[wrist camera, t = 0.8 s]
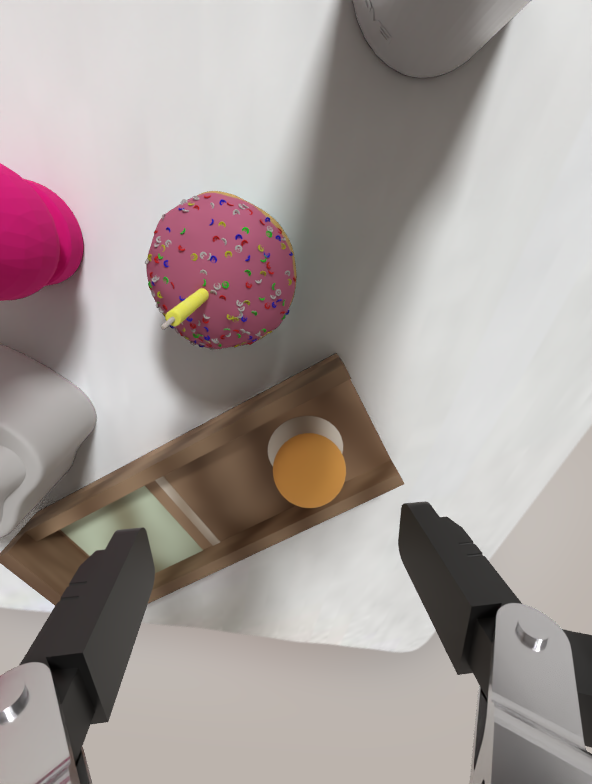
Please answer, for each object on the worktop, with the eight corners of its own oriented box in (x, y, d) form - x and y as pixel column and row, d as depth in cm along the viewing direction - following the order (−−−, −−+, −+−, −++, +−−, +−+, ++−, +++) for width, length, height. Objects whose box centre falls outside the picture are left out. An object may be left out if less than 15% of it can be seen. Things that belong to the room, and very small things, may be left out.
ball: (320, 409, 27) (332, 445, 22) (349, 459, 29) (366, 504, 24) (260, 440, 28) (258, 482, 23) (292, 487, 30) (297, 536, 25)
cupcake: (234, 354, 26) (209, 430, 15) (142, 270, 23) (30, 287, 12) (316, 273, 24) (355, 291, 13) (227, 171, 22) (183, 87, 11)
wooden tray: (336, 353, 27) (350, 374, 22) (392, 463, 31) (413, 500, 27) (36, 512, 30) (-5, 558, 26) (124, 590, 35) (102, 642, 30)
